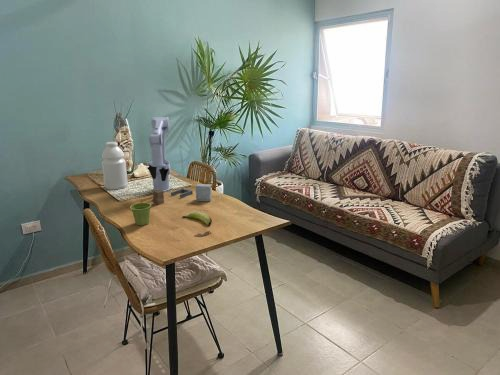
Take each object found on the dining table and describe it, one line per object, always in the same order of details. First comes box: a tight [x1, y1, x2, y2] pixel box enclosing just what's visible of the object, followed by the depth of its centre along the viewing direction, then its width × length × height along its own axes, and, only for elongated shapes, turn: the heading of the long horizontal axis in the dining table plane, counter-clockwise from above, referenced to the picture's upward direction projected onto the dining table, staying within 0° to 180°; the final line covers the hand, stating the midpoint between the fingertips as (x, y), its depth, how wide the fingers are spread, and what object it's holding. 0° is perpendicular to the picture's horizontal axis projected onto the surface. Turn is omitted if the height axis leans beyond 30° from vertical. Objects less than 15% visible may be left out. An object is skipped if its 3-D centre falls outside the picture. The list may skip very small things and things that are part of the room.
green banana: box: [181, 209, 213, 237], centre depth 177 cm, size 35×27×4 cm
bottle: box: [100, 141, 129, 191], centre depth 228 cm, size 14×14×28 cm
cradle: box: [170, 188, 194, 199], centre depth 216 cm, size 8×10×2 cm
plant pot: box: [129, 202, 152, 226], centre depth 173 cm, size 9×9×9 cm
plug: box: [152, 190, 165, 206], centre depth 201 cm, size 4×4×7 cm
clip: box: [138, 194, 153, 203], centre depth 203 cm, size 12×2×2 cm, turn 144°
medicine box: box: [195, 183, 213, 202], centre depth 206 cm, size 8×4×9 cm, turn 84°
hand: (158, 179), depth 209 cm, fingers open, 7 cm apart
